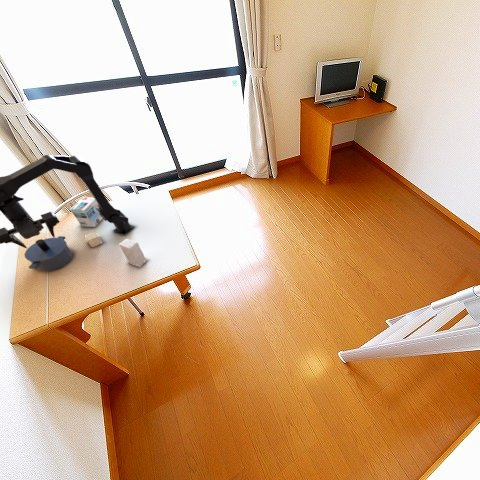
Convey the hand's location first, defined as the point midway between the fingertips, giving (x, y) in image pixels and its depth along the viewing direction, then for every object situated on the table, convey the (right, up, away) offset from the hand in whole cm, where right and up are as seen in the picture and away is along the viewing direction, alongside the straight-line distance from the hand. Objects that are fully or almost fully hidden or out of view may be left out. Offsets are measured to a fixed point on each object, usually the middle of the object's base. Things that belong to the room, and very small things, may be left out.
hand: (40, 242), depth 114 cm
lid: (-1, -3, +3) cm, 4 cm away
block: (+9, 0, +17) cm, 19 cm away
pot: (-1, -8, +8) cm, 11 cm away
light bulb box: (0, +11, +27) cm, 29 cm away
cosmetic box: (+33, -9, +11) cm, 36 cm away
